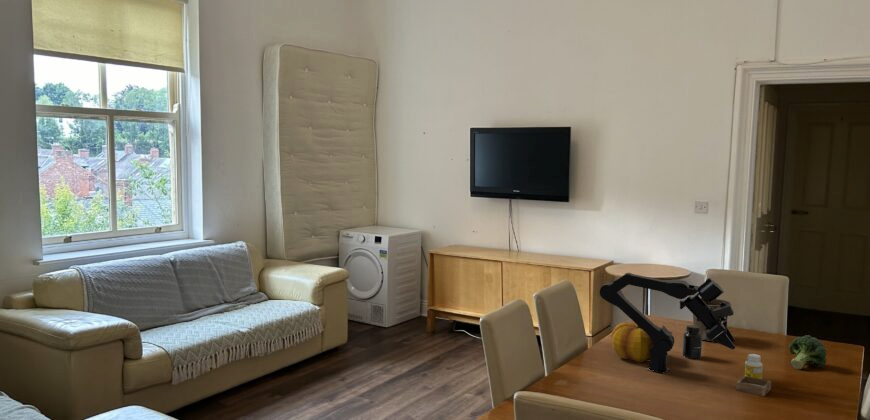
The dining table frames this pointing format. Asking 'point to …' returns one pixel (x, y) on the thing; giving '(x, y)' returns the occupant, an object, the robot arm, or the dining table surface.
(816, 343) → the vegetable
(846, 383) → the dining table surface
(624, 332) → the decorative pumpkin
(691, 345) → the supplement bottle
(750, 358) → the supplement bottle
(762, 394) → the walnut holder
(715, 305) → the plant pot
